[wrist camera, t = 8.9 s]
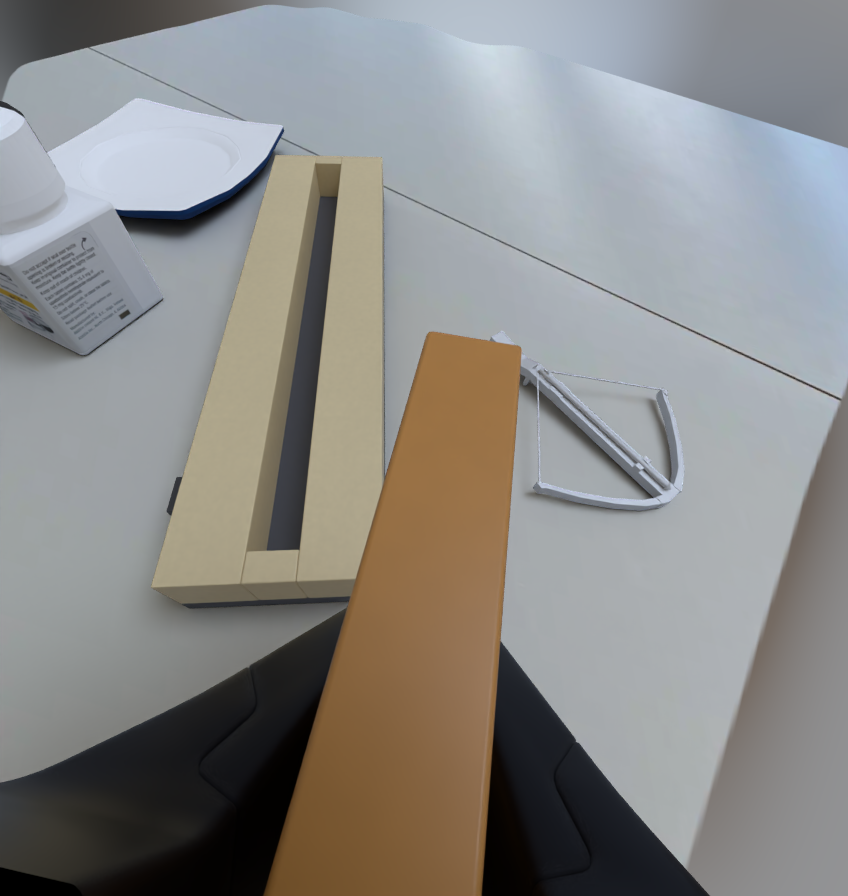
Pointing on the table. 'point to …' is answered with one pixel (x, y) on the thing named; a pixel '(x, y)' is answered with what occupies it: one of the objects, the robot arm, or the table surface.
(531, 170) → the table surface
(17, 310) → the container
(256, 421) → the toaster
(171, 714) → the robot arm
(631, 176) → the table surface
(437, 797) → the toast
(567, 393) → the crossbow
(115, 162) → the plate
